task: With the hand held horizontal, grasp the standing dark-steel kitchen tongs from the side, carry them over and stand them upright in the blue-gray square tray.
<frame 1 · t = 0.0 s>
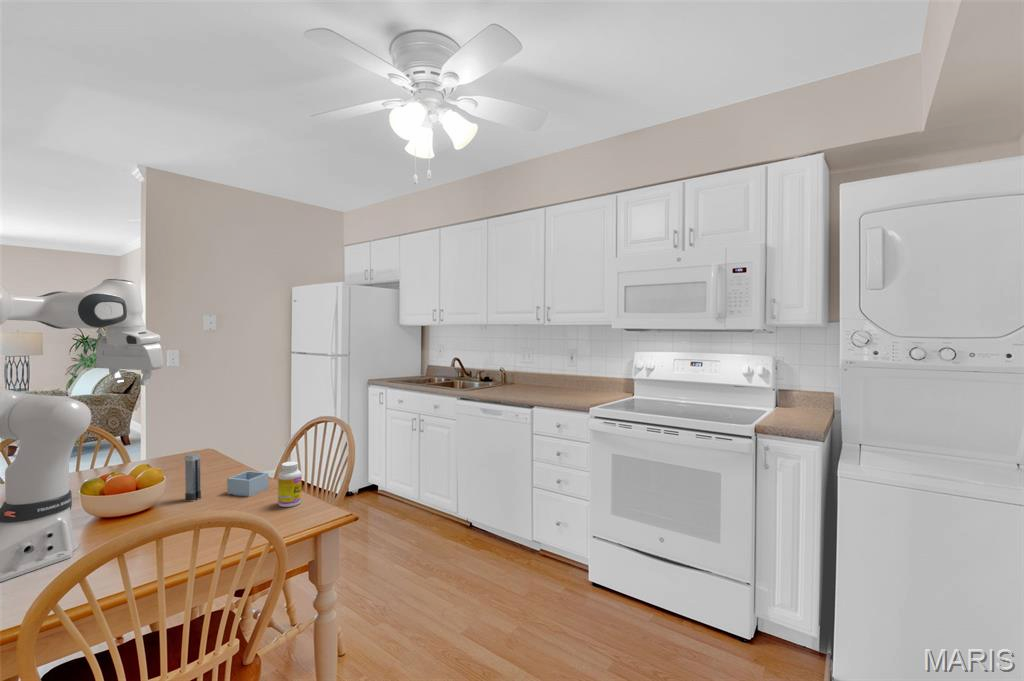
hand: (132, 384, 139), 39 cm above the table, tool pointing down, fingers open, 8 cm apart
blue-gray square tray: (248, 491, 163), on the table
supplement bottle: (289, 504, 152), on the table
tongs: (193, 499, 155), on the table
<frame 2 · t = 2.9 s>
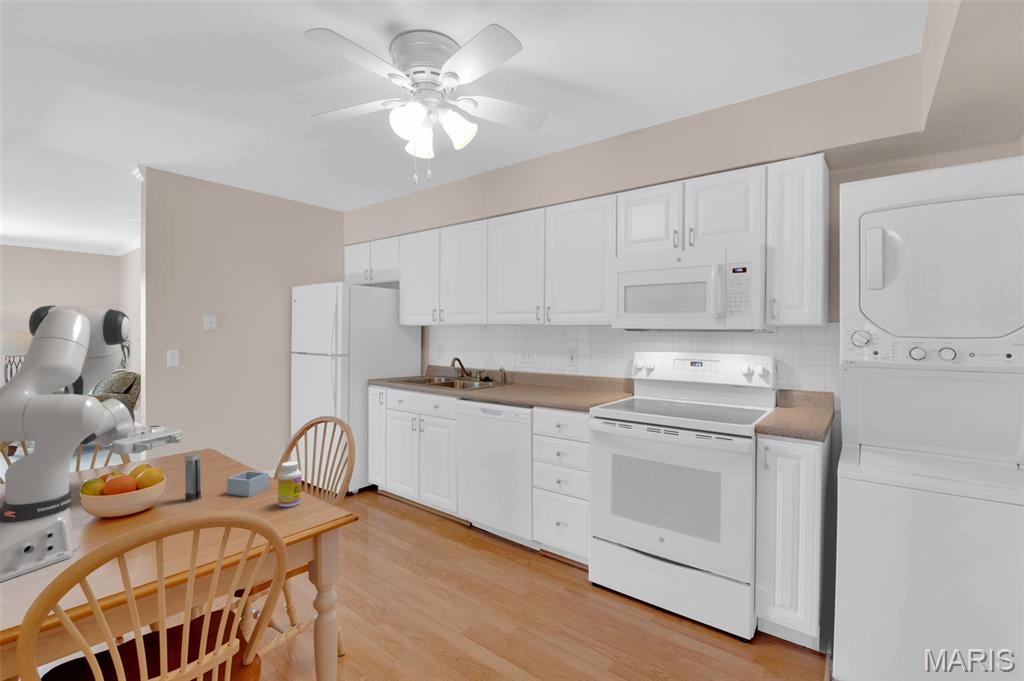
hand: (165, 443, 158), 17 cm above the table, tool horizontal, fingers open, 8 cm apart
nothing on the table moved.
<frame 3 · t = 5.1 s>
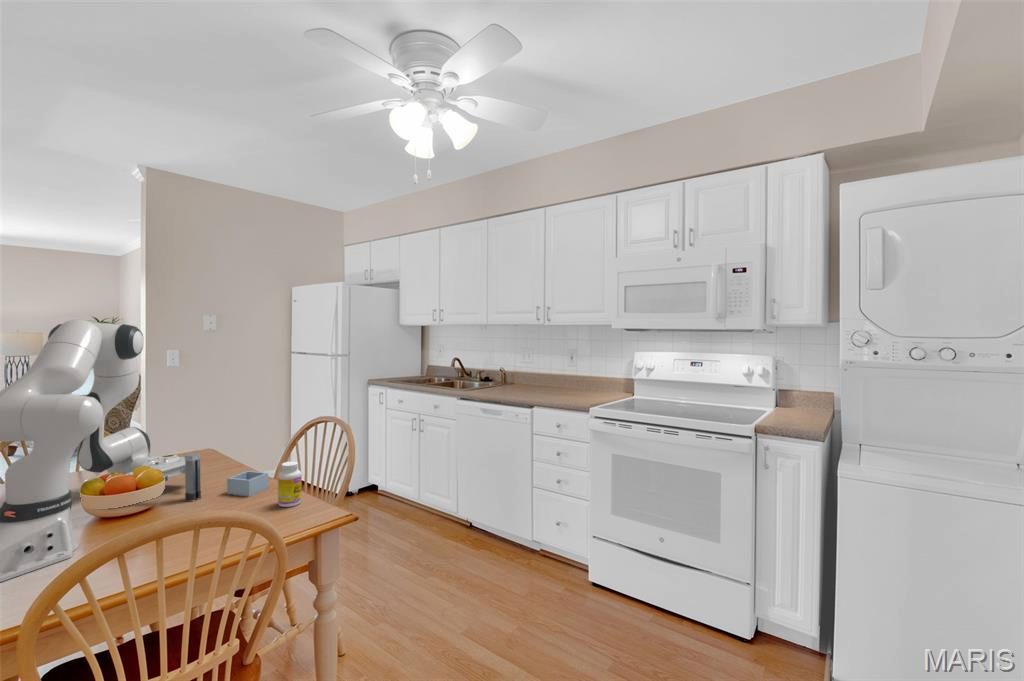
hand: (180, 474, 156), 7 cm above the table, tool horizontal, fingers open, 8 cm apart
nothing on the table moved.
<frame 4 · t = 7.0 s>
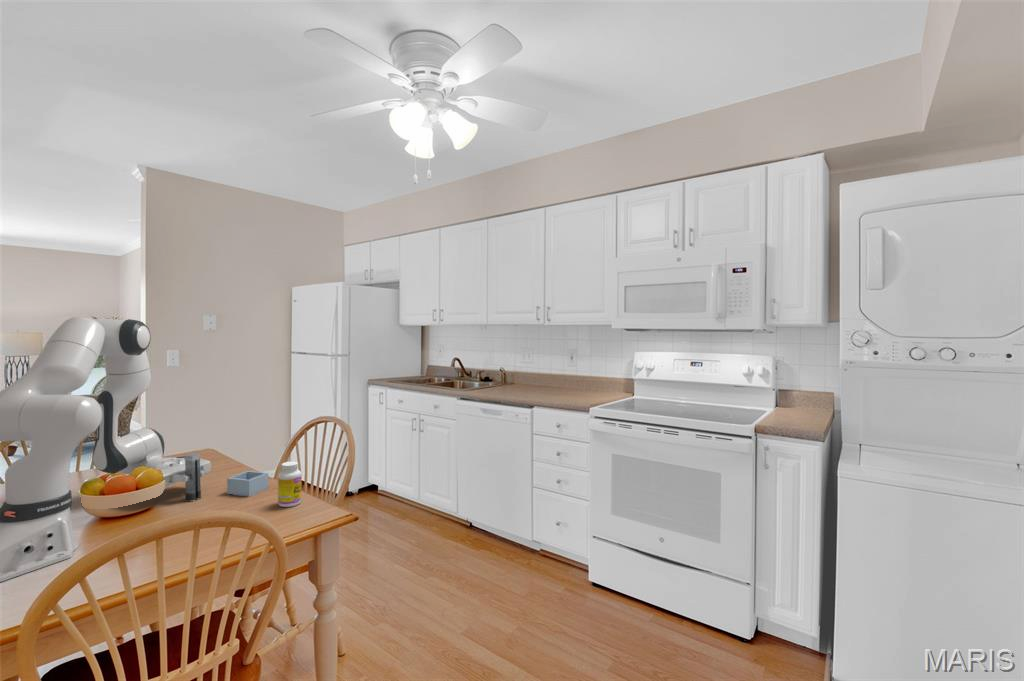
hand: (194, 476, 154), 8 cm above the table, tool horizontal, fingers closed on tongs, 3 cm apart
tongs: (193, 499, 155), on the table, touching gripper
everything else where it was.
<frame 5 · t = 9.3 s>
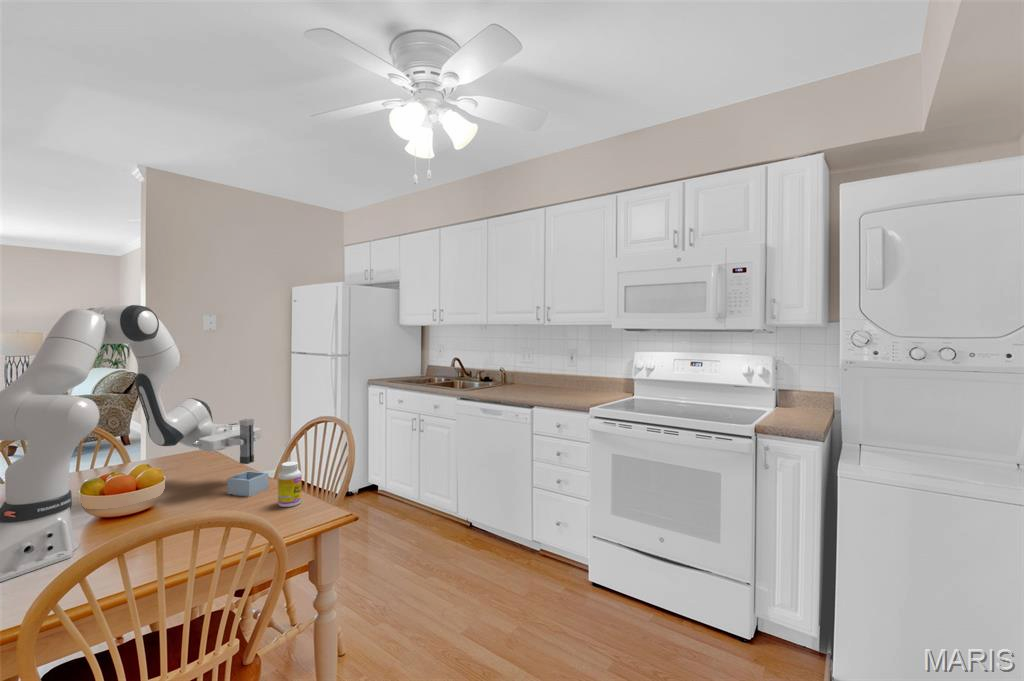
hand: (248, 440, 162), 17 cm above the table, tool horizontal, fingers closed on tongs, 3 cm apart
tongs: (246, 462, 163), point 10 cm above the table, touching gripper
everything else where it was.
when the fingers open (9 cm above the table, at t = 11.4 s): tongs drops 1 cm, resting on blue-gray square tray.
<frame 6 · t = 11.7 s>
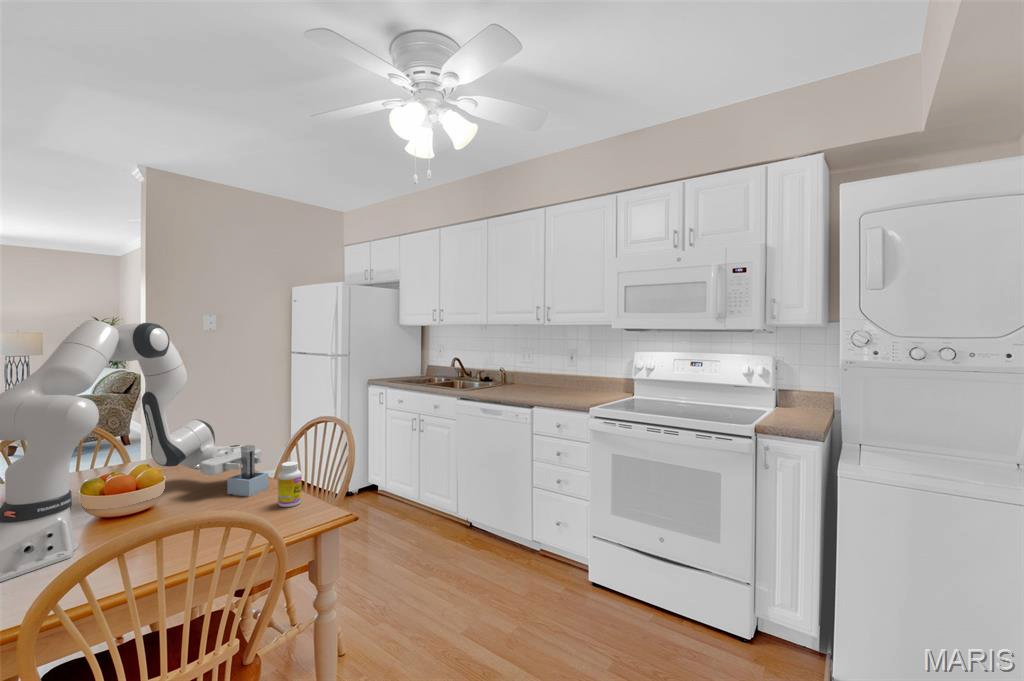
hand: (250, 463, 162), 9 cm above the table, tool horizontal, fingers open, 6 cm apart
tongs: (248, 488, 163), point 1 cm above the table, touching blue-gray square tray
everything else where it was.
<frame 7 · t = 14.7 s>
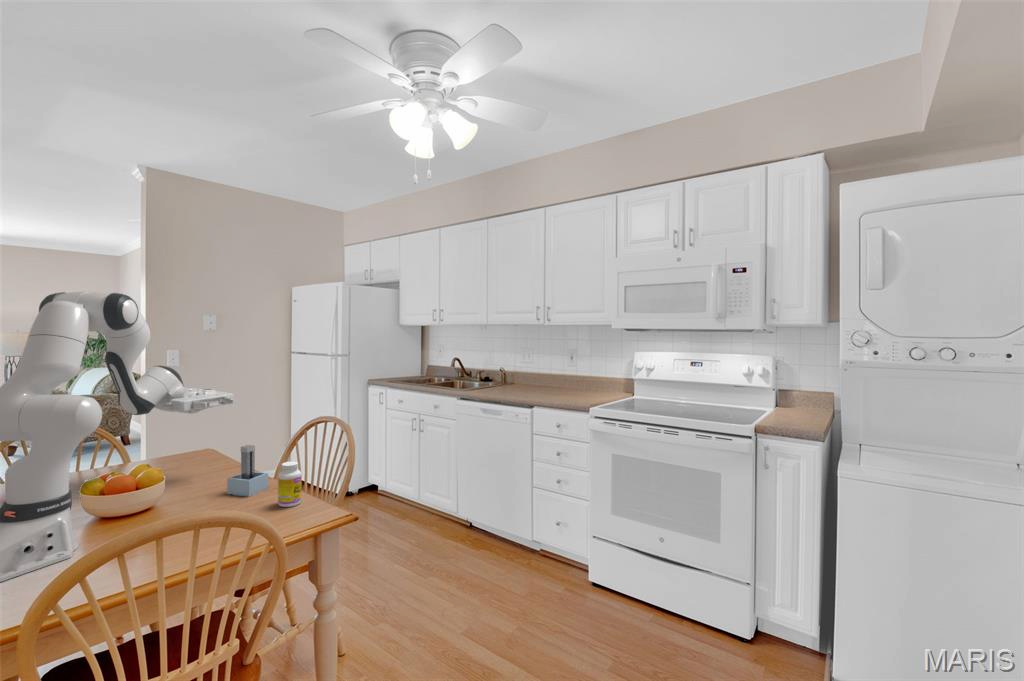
hand: (220, 403, 165), 29 cm above the table, tool horizontal, fingers open, 8 cm apart
nothing on the table moved.
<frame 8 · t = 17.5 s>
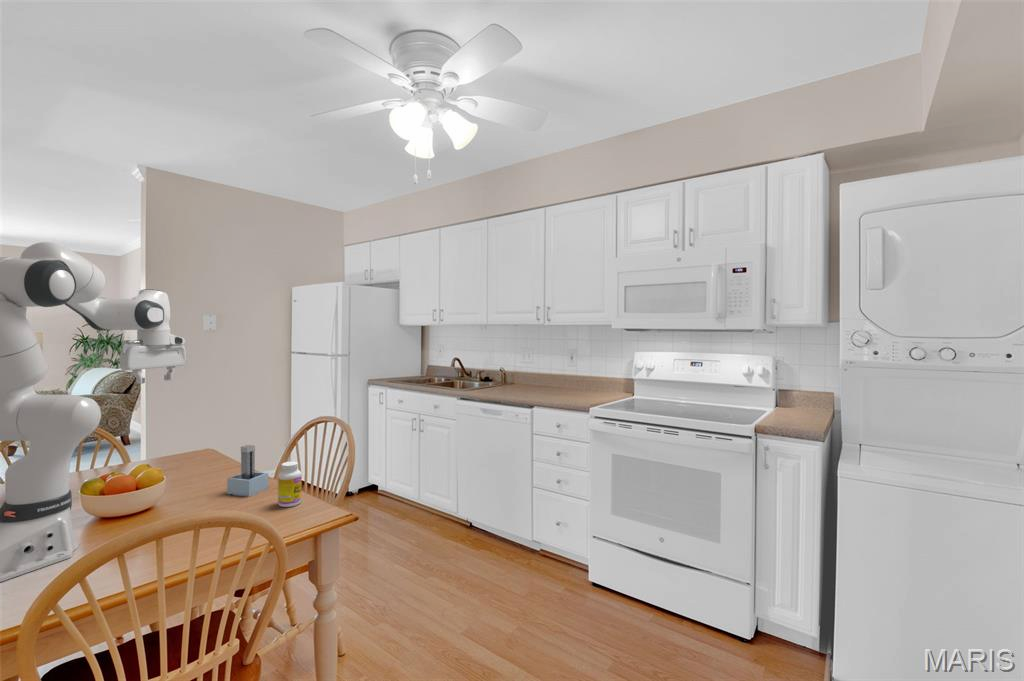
hand: (154, 381, 158), 37 cm above the table, tool pointing down, fingers open, 8 cm apart
nothing on the table moved.
at the end: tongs inside the target area on the blue-gray square tray (0.1 cm from its centre), point 0.8 cm above the blue-gray square tray's base; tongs touching blue-gray square tray; the gripper is holding nothing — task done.
